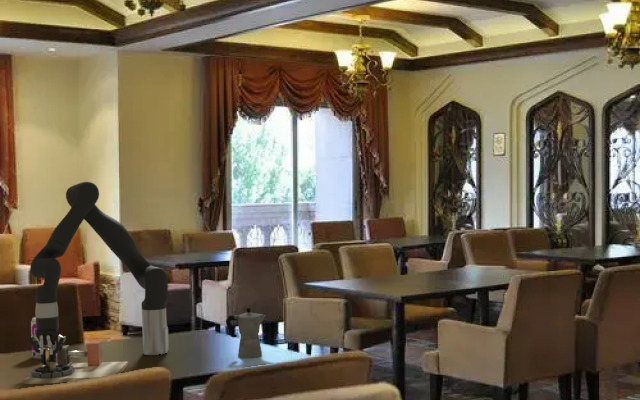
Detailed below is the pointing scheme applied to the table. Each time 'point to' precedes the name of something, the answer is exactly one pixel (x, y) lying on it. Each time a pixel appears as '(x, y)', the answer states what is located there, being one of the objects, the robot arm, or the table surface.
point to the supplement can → (33, 332)
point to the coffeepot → (247, 333)
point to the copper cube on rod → (89, 353)
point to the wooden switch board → (78, 370)
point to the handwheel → (46, 373)
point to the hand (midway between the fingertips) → (48, 364)
